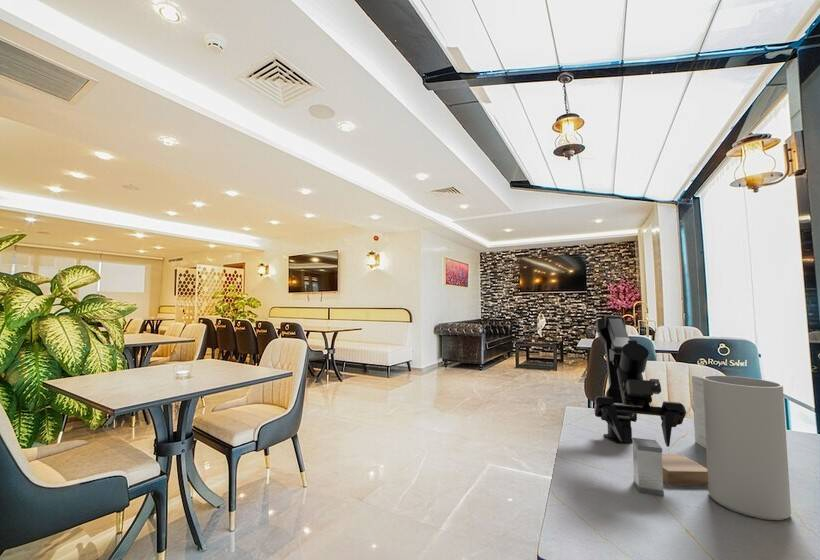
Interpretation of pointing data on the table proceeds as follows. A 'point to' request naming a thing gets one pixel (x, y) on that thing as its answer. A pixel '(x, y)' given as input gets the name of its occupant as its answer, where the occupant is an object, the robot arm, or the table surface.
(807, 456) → the table surface
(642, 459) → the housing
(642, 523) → the table surface
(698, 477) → the stand
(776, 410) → the cylinder vase
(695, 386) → the hard drive box
